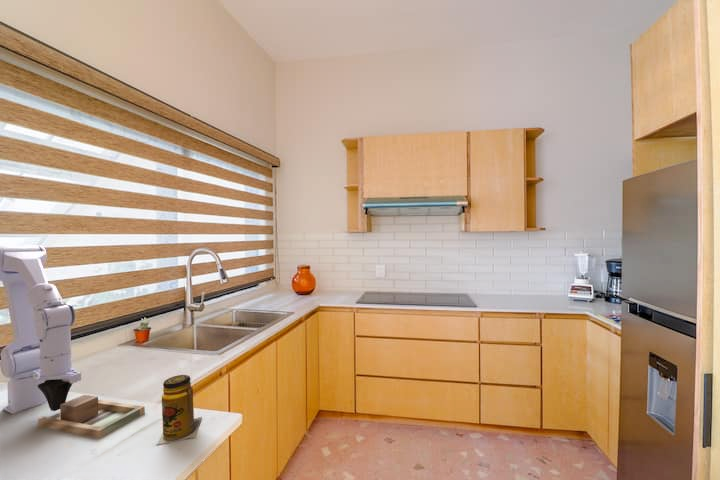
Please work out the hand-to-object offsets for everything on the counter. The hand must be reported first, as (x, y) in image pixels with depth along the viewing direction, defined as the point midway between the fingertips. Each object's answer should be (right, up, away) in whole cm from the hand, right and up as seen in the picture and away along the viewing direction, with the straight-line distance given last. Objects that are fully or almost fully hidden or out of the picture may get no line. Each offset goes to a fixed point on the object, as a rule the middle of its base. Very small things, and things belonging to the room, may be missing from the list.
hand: (57, 408), depth 80 cm
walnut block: (+8, -1, -2) cm, 8 cm away
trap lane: (+12, -2, -4) cm, 12 cm away
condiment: (+35, -1, -8) cm, 36 cm away
